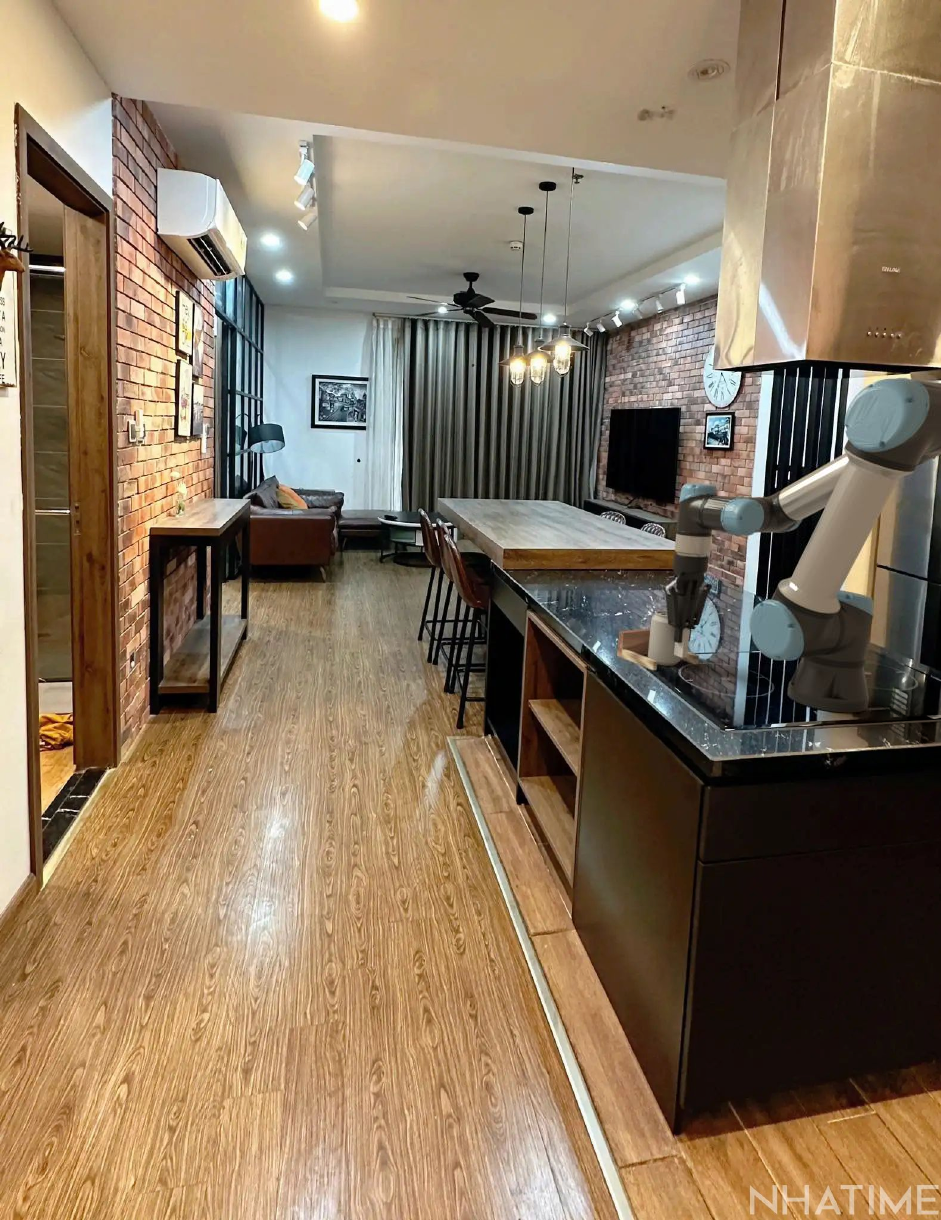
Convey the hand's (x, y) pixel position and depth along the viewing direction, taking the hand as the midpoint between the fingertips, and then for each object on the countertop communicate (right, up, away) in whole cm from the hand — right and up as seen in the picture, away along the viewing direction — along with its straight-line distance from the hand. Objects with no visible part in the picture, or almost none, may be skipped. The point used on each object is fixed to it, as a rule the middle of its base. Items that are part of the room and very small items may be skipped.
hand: (680, 655), depth 176 cm
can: (-3, -2, +5) cm, 6 cm away
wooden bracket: (-4, -1, +7) cm, 8 cm away
